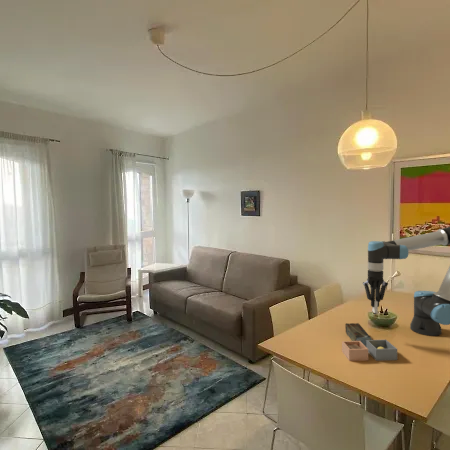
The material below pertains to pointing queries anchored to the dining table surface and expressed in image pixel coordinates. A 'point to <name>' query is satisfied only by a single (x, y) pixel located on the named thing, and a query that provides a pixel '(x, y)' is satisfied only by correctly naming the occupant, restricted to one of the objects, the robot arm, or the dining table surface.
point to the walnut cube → (354, 346)
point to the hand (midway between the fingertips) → (374, 312)
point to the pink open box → (355, 351)
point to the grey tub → (381, 350)
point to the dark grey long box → (357, 332)
